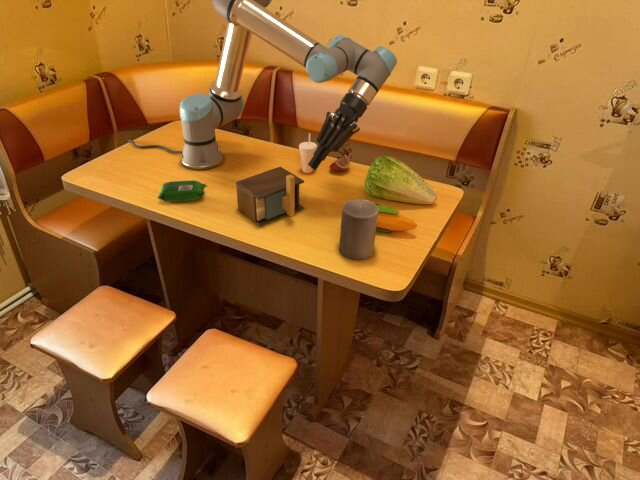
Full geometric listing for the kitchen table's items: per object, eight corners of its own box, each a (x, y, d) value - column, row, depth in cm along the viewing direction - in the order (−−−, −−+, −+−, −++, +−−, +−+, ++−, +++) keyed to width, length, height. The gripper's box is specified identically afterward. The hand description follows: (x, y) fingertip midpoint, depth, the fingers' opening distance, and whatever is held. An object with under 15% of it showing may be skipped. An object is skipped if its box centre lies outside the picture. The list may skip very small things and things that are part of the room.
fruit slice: (337, 163, 183) (338, 151, 180) (353, 168, 180) (354, 155, 177) (325, 172, 178) (326, 159, 175) (342, 177, 175) (342, 164, 171)
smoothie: (316, 174, 176) (317, 137, 168) (298, 174, 177) (298, 137, 168) (316, 166, 181) (317, 129, 173) (298, 166, 182) (298, 129, 173)
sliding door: (265, 218, 152) (263, 177, 143) (286, 210, 155) (286, 169, 147) (274, 225, 148) (273, 184, 140) (296, 216, 152) (296, 175, 144)
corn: (355, 194, 149) (422, 206, 143) (353, 215, 154) (418, 228, 148) (347, 207, 144) (416, 221, 138) (346, 228, 149) (413, 242, 143)
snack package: (206, 202, 162) (204, 188, 159) (158, 204, 161) (155, 190, 158) (207, 192, 168) (206, 178, 165) (161, 194, 167) (158, 180, 164)
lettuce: (434, 204, 147) (450, 166, 151) (361, 178, 153) (378, 141, 156) (425, 224, 160) (440, 188, 164) (358, 200, 166) (375, 165, 170)
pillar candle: (335, 256, 138) (338, 209, 128) (344, 237, 145) (347, 192, 136) (369, 263, 135) (375, 216, 126) (377, 243, 142) (382, 197, 133)
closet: (238, 209, 158) (235, 181, 152) (280, 193, 166) (280, 166, 160) (259, 226, 150) (258, 197, 144) (303, 208, 158) (304, 180, 152)
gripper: (379, 112, 143) (332, 181, 146) (348, 100, 151) (305, 165, 154) (367, 98, 137) (319, 169, 140) (336, 86, 146) (291, 154, 148)
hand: (311, 167), depth 147 cm, fingers closed
